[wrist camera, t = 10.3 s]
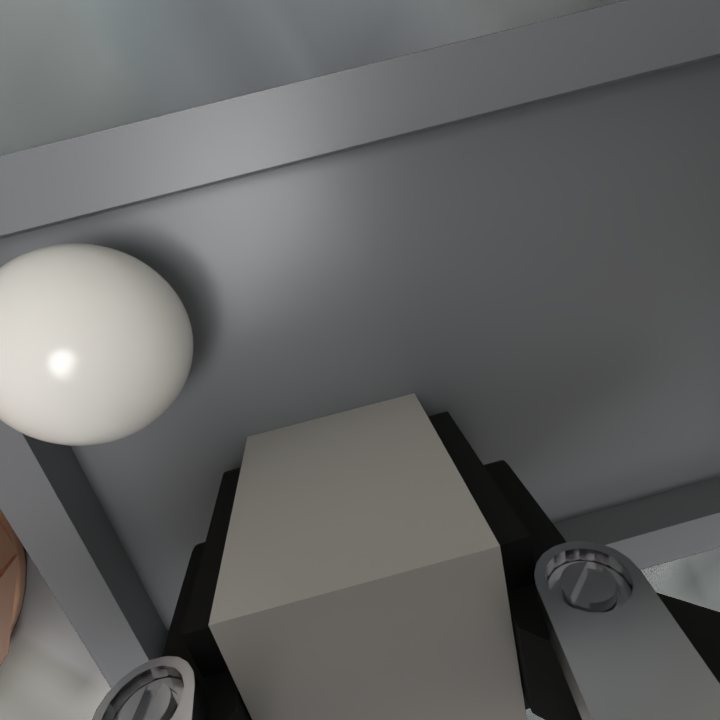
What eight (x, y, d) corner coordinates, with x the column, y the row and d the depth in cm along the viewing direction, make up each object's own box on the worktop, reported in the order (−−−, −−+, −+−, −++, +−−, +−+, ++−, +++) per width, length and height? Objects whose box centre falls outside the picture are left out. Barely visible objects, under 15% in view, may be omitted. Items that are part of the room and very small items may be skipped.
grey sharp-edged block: (414, 392, 10) (499, 545, 6) (445, 545, 11) (532, 757, 7) (247, 436, 10) (208, 626, 6) (299, 584, 11) (300, 824, 7)
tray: (817, -30, 9) (918, -73, 7) (774, 477, 12) (834, 514, 11) (-105, 200, 8) (-189, 202, 7) (148, 654, 12) (128, 716, 11)
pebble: (173, 214, 8) (108, 229, 5) (230, 373, 9) (201, 453, 6) (-1, 258, 8) (-158, 296, 5) (77, 413, 9) (-21, 513, 6)
